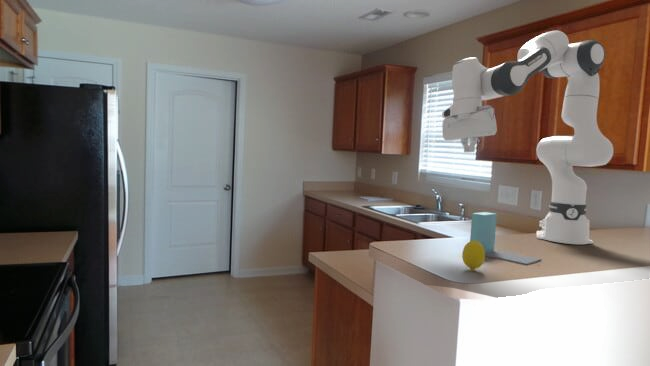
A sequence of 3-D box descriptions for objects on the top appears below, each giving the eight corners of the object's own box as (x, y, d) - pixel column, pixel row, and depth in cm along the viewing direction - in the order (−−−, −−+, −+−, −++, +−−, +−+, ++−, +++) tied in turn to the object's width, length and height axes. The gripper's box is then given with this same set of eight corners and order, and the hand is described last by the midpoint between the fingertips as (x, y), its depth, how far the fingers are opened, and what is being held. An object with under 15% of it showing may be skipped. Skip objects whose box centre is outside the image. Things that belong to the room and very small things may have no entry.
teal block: (469, 251, 136) (472, 213, 136) (482, 248, 142) (485, 211, 141) (481, 254, 134) (484, 215, 133) (493, 251, 139) (497, 213, 138)
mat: (482, 255, 132) (482, 254, 132) (498, 251, 139) (498, 250, 139) (526, 265, 123) (526, 263, 123) (541, 260, 129) (541, 259, 129)
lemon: (465, 266, 117) (467, 236, 117) (486, 270, 114) (488, 240, 114) (458, 270, 113) (460, 239, 112) (480, 274, 110) (482, 243, 109)
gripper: (500, 104, 134) (502, 149, 134) (452, 113, 152) (454, 153, 152) (485, 103, 131) (487, 150, 131) (438, 113, 149) (440, 154, 149)
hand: (469, 152), depth 142 cm, fingers closed
